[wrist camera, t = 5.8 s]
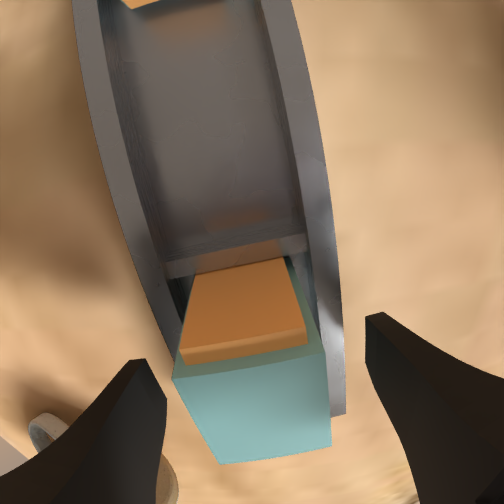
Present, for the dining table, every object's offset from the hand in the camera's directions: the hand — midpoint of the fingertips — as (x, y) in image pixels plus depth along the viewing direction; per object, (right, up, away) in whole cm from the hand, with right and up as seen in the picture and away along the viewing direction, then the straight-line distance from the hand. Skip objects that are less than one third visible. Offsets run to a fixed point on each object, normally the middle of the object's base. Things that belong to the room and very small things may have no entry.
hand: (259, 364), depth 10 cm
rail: (-1, +7, +1) cm, 7 cm away
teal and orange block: (0, +1, +2) cm, 2 cm away
